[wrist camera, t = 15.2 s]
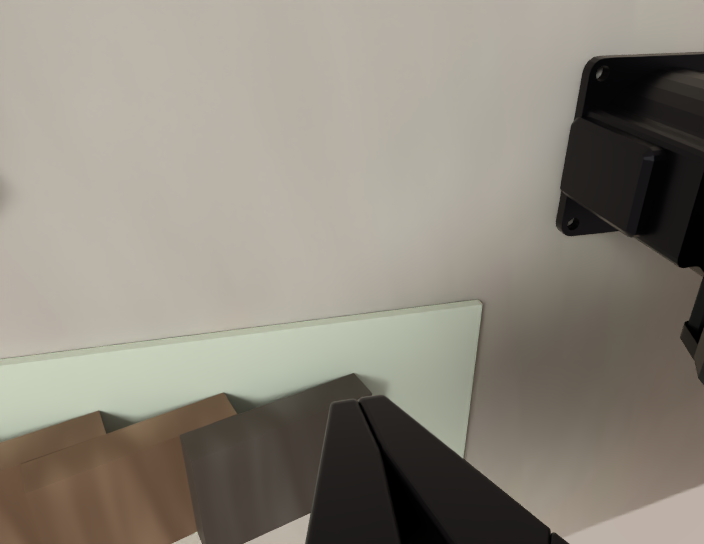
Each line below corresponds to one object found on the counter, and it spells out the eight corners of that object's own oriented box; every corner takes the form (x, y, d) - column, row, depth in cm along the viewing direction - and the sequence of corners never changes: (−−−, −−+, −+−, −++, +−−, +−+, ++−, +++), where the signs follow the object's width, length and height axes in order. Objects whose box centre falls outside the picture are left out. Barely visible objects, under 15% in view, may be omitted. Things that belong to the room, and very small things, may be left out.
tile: (372, 392, 23) (190, 461, 20) (370, 485, 25) (208, 559, 22) (354, 372, 24) (179, 435, 21) (353, 463, 26) (197, 531, 23)
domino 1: (105, 433, 21) (-141, 519, 18) (131, 530, 23) (-82, 619, 20) (98, 410, 22) (-135, 486, 19) (123, 504, 24) (-80, 586, 21)
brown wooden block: (237, 413, 22) (25, 493, 18) (248, 508, 24) (62, 593, 21) (223, 392, 23) (20, 464, 20) (235, 484, 25) (56, 562, 22)
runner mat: (478, 299, 24) (482, 304, 24) (457, 476, 29) (460, 483, 28) (-367, 405, 18) (-377, 413, 18) (-218, 603, 23) (-225, 613, 23)
